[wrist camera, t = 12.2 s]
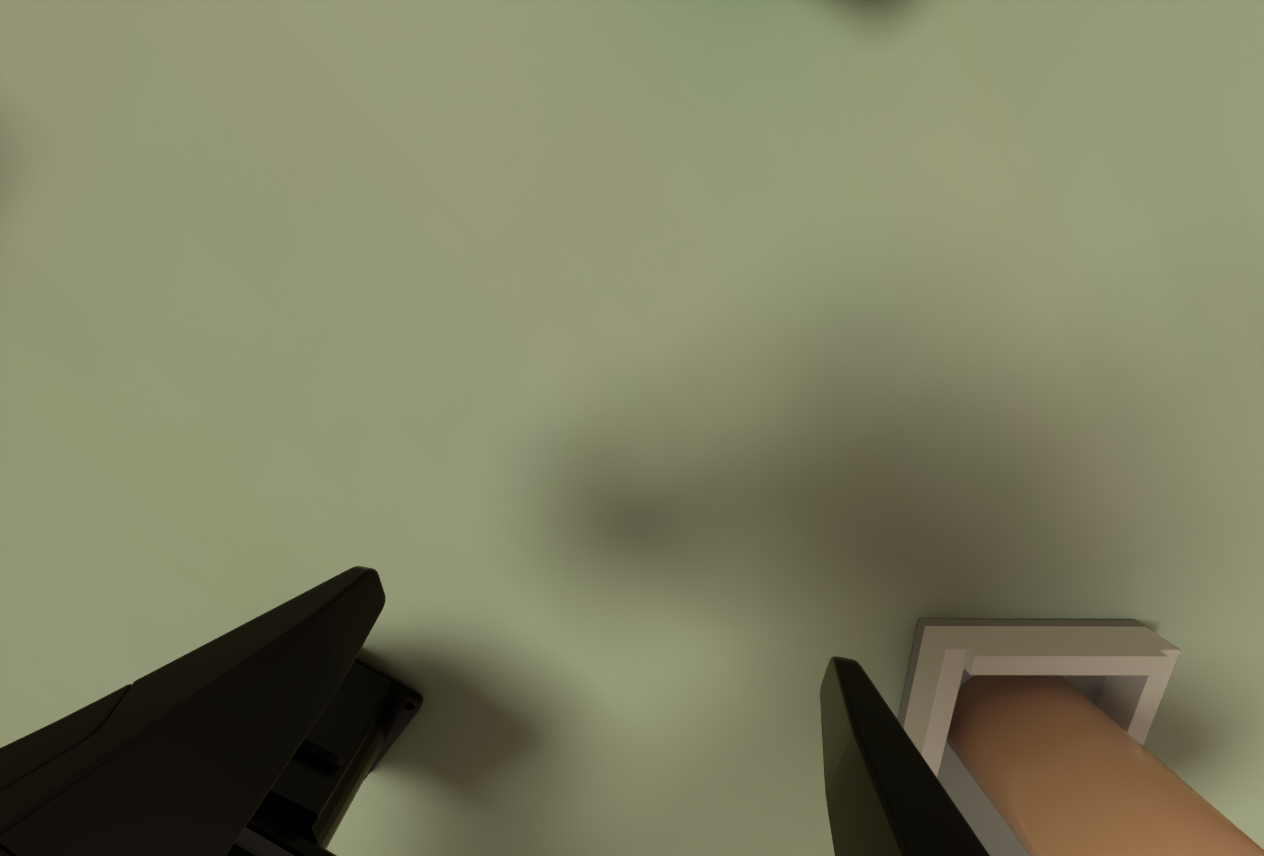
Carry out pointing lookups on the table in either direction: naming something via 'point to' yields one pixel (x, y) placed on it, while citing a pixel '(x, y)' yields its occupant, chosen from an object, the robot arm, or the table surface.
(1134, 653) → the lane
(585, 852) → the table surface
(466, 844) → the table surface
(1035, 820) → the jar
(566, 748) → the table surface
